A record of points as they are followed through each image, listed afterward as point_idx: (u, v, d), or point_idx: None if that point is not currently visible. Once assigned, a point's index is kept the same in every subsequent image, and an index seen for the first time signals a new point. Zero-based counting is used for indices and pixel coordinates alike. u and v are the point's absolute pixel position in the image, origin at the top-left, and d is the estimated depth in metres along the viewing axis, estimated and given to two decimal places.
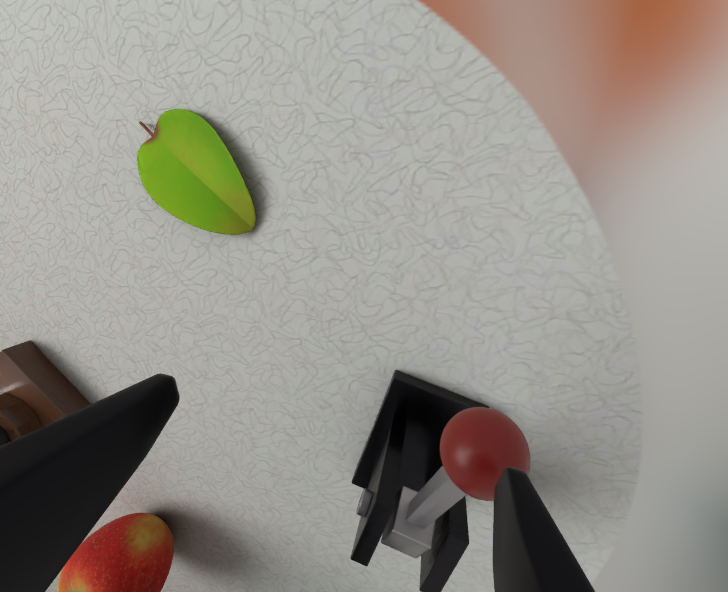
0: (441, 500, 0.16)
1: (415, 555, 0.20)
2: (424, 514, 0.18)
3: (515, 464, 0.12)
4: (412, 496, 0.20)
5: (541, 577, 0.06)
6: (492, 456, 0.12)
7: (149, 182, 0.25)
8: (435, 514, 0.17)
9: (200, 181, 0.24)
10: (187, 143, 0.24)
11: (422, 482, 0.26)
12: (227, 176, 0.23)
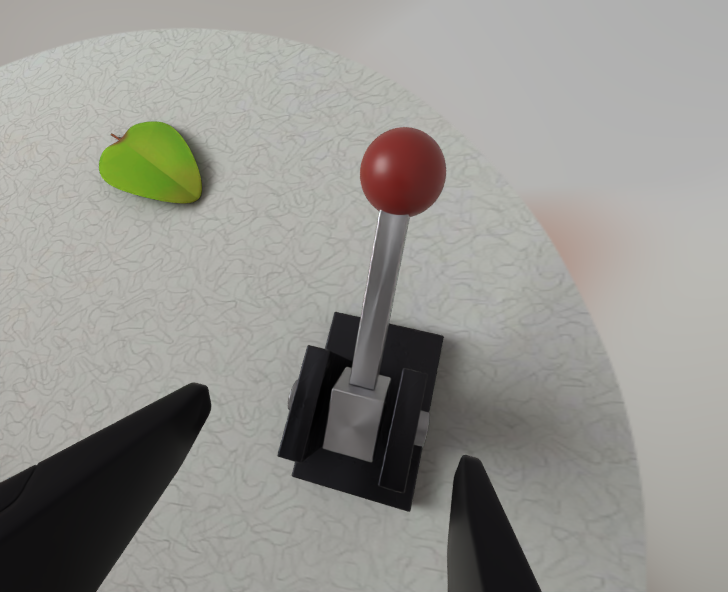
0: (379, 287, 0.14)
1: (369, 449, 0.14)
2: (367, 343, 0.14)
3: (424, 135, 0.12)
4: None
5: (481, 558, 0.06)
6: (402, 130, 0.12)
7: (106, 171, 0.28)
8: (379, 331, 0.14)
9: (154, 168, 0.28)
10: (150, 141, 0.28)
11: (383, 449, 0.20)
12: (180, 158, 0.27)
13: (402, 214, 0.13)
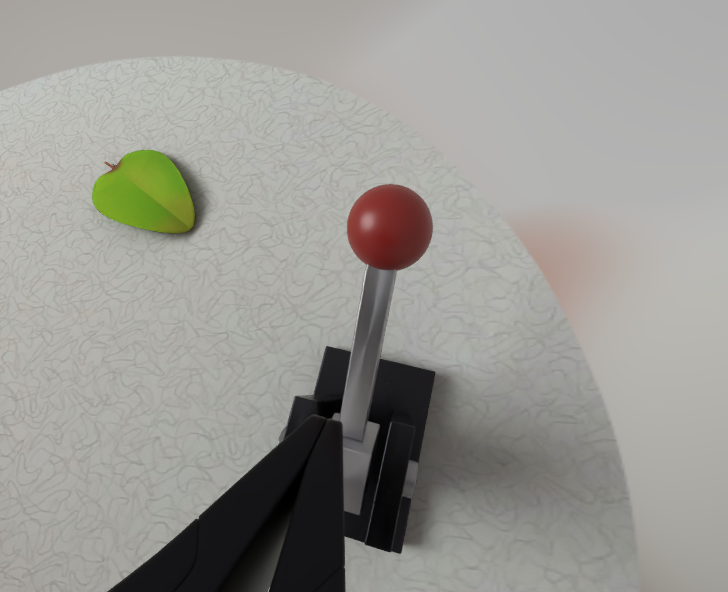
0: (366, 340, 0.14)
1: (356, 502, 0.14)
2: (355, 395, 0.14)
3: (410, 194, 0.12)
4: None
5: (299, 502, 0.07)
6: (388, 189, 0.12)
7: (99, 200, 0.28)
8: (366, 383, 0.14)
9: (148, 197, 0.28)
10: (144, 169, 0.28)
11: (374, 489, 0.20)
12: (173, 187, 0.27)
13: (389, 269, 0.13)
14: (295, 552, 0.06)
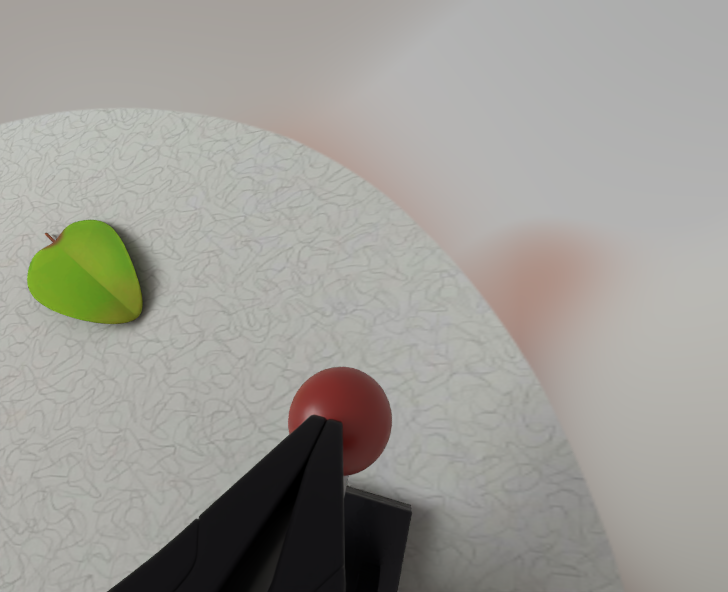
0: None
1: None
2: None
3: (362, 392, 0.10)
4: None
5: (299, 502, 0.07)
6: (335, 385, 0.10)
7: (35, 281, 0.24)
8: None
9: (91, 278, 0.24)
10: (87, 244, 0.25)
11: None
12: (119, 268, 0.24)
13: None
14: (295, 552, 0.06)
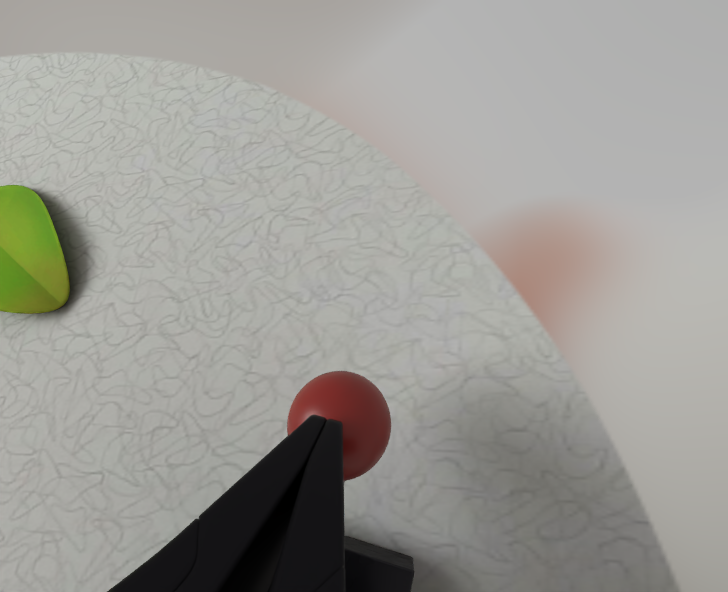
0: None
1: None
2: None
3: (367, 382, 0.11)
4: None
5: (299, 502, 0.07)
6: (342, 374, 0.11)
7: None
8: None
9: (7, 256, 0.19)
10: (5, 214, 0.20)
11: None
12: (41, 243, 0.19)
13: None
14: (295, 552, 0.06)
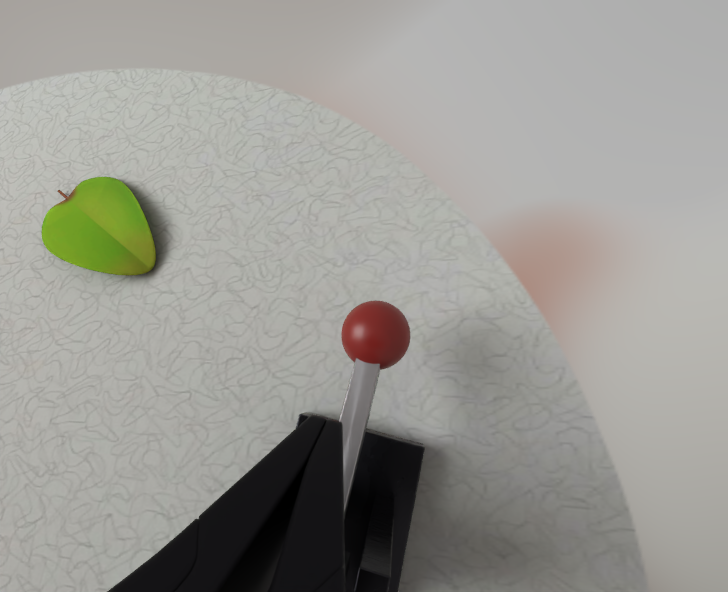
0: (349, 429, 0.14)
1: None
2: None
3: (394, 306, 0.16)
4: None
5: (299, 502, 0.07)
6: (377, 301, 0.16)
7: (49, 236, 0.25)
8: (345, 477, 0.14)
9: (104, 232, 0.25)
10: (100, 200, 0.25)
11: (352, 589, 0.17)
12: (132, 222, 0.24)
13: (375, 363, 0.15)
14: (295, 552, 0.06)
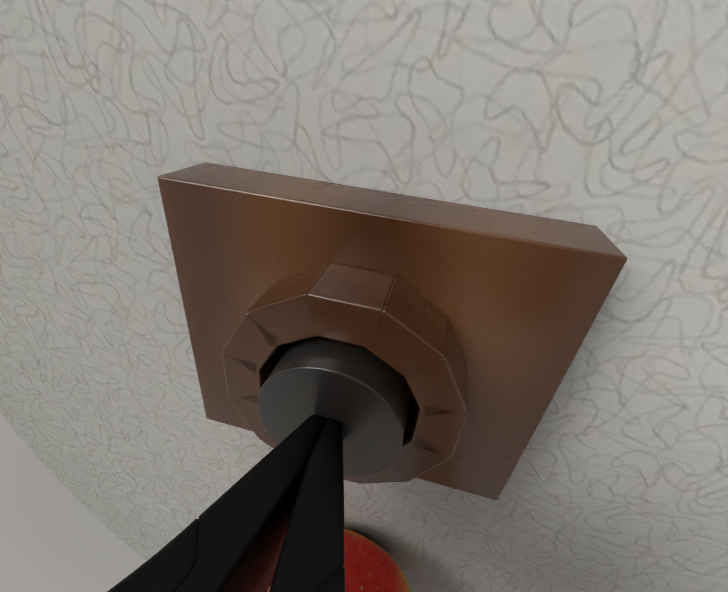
0: None
1: None
2: None
3: None
4: None
5: (299, 502, 0.07)
6: None
7: None
8: None
9: None
10: None
11: None
12: None
13: None
14: (295, 552, 0.06)
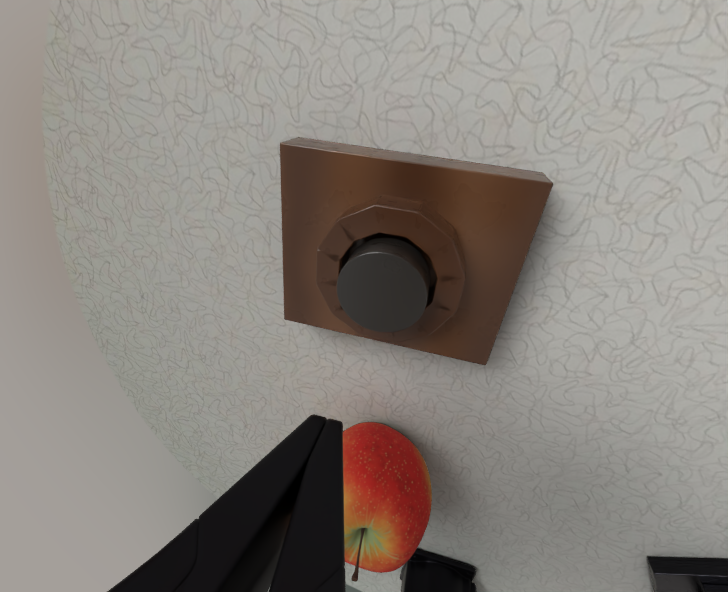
0: None
1: None
2: None
3: None
4: None
5: (299, 502, 0.07)
6: None
7: None
8: None
9: None
10: None
11: None
12: None
13: None
14: (295, 552, 0.06)
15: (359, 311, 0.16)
